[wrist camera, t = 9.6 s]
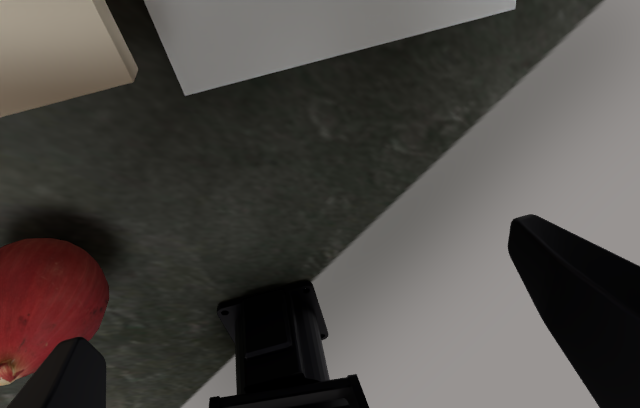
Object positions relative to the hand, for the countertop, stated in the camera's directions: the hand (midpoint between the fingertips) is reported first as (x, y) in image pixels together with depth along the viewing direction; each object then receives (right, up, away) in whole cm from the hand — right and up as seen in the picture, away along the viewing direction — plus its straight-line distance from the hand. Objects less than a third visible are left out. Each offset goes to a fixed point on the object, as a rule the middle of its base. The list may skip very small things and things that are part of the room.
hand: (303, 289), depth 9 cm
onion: (-14, 0, +14) cm, 20 cm away
